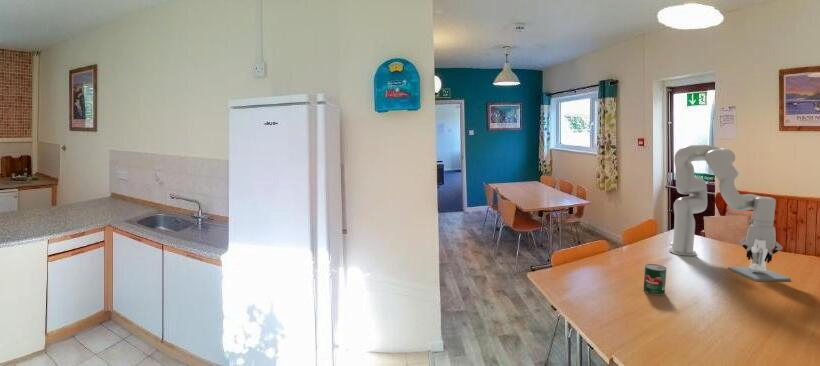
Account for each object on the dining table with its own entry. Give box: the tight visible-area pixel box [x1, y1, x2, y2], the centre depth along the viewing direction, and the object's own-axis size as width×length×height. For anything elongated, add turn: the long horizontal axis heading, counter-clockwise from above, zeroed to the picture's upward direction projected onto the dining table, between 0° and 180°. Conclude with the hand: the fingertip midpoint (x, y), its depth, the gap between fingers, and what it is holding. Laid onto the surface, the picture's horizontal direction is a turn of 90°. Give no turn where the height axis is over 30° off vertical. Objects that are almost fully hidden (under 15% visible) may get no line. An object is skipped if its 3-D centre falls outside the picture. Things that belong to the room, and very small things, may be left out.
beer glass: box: [748, 239, 769, 272], centre depth 190 cm, size 7×7×15 cm
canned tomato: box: [643, 263, 667, 296], centre depth 172 cm, size 8×8×11 cm
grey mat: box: [727, 266, 792, 282], centre depth 191 cm, size 16×16×1 cm
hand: (758, 260), depth 190 cm, fingers closed on beer glass, 6 cm apart
